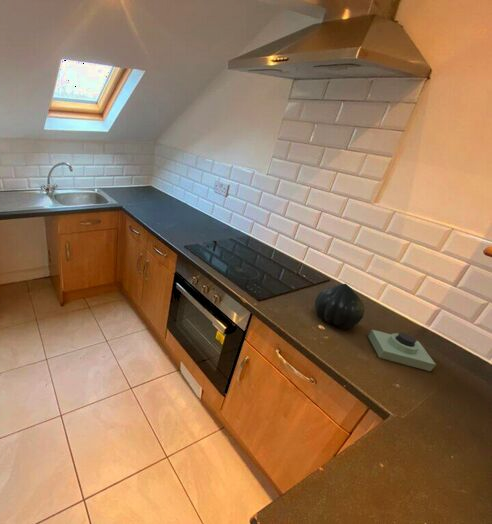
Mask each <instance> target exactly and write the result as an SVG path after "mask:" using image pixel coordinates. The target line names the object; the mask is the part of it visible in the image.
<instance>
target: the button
mask: <svg viewBox="0 0 492 524" xmlns="http://www.w3.org/2000/svg"><path fill="white" fill-rule="evenodd" d="M398 334H399V335H398V336H397V338H396V340H397V341H399V342H400V343H402V344H404V345H406V346H409V347H412V346H413V345H414V344H415V342H416V341H417V339H416V338H415V337H414V336H412V335H411V334H408V333H406V332H399V333H398Z"/></svg>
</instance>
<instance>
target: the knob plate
mask: <svg viewBox="0 0 492 524" xmlns="http://www.w3.org/2000/svg"><path fill="white" fill-rule="evenodd" d="M398 335H399V333H387V332H383V331H380V330H375V329H371V330H370V331H369V333H368V334H367V337H368V339H369V341H370V342H371V345H372V347H373V348H374V350H375V352H376V354H377V356H378V358H380V359H383V360H386V361H391V362H394V363H397V364H401V365H405V366H409V367H413V368H415V369H416V368H417V369H420V370H424V371H427V372H432V370H433V369H435V367H436V366H437V364H436V363H435V361H434V360H433V359H432V357H431V356H430V355H429V353H428V352H427V350H426V349H425V348H424V346H423V345H422V344H421V343H420V341H419V340H416V342H415V344H414V345H413V346H412V347H409V346H406V345H404V344H402V343H400V342H399V341H397V340H396V338H397V336H398Z"/></svg>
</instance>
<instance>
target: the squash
mask: <svg viewBox="0 0 492 524" xmlns="http://www.w3.org/2000/svg"><path fill="white" fill-rule="evenodd" d="M314 308H315V314H316V316H317V317H318V319H320V320H322V321H324V322H326V323H327V324H333V325H335V326H337V327H338V328H341V329H343V330H350V329H352V328H354V327H355V326H356V325H358V324H359V323H360V321H362V319H363V318H364V315H365V312H366V311H365V304H364V302H363V301H362V299H361V298H360V297H359V296H358V294H357V293H356V292H355V291H354V289H352V287H351V286H349V284H347V283H342V284H338V285H334V286H331V287H328V288H325V289H323V290H322V291H320V292H319V293H318V295H317V296H316V297H315V301H314Z"/></svg>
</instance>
